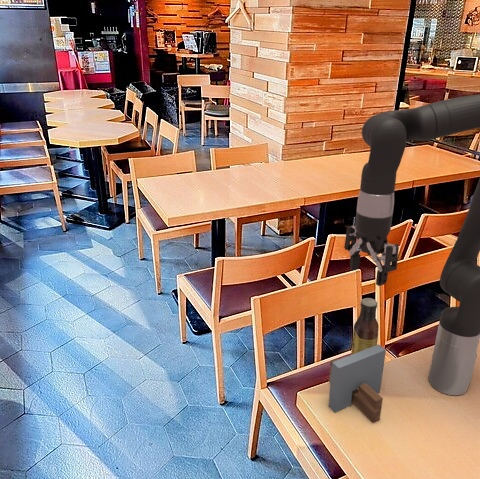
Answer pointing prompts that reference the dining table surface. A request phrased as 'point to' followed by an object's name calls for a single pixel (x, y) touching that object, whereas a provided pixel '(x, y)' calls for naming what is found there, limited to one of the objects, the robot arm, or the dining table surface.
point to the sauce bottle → (365, 327)
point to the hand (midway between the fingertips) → (366, 276)
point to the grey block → (355, 375)
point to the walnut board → (365, 400)
